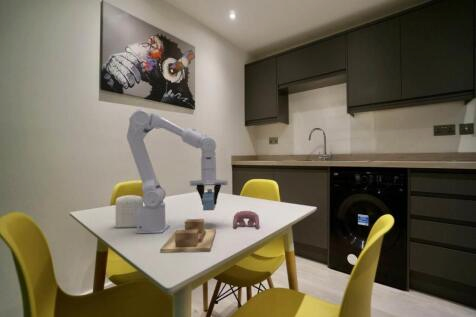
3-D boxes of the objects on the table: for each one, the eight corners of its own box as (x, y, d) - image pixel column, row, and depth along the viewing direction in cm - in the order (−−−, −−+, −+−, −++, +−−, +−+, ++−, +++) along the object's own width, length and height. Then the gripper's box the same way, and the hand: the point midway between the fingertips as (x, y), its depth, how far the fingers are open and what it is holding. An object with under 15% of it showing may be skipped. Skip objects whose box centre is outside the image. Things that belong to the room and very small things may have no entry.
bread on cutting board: (160, 252, 61) (159, 234, 61) (176, 232, 77) (176, 218, 77) (210, 251, 61) (209, 233, 61) (215, 232, 77) (215, 217, 77)
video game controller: (259, 230, 82) (258, 211, 85) (259, 228, 78) (258, 209, 81) (233, 230, 83) (234, 211, 86) (232, 228, 79) (232, 209, 82)
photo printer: (145, 224, 88) (144, 193, 88) (141, 227, 84) (140, 195, 84) (119, 225, 87) (118, 194, 87) (113, 228, 83) (113, 196, 83)
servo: (202, 211, 79) (201, 192, 79) (206, 205, 89) (205, 188, 89) (213, 211, 79) (212, 191, 79) (215, 205, 89) (215, 188, 89)
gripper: (187, 170, 79) (188, 206, 80) (226, 169, 80) (227, 206, 80) (191, 169, 87) (192, 202, 87) (227, 168, 87) (228, 202, 87)
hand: (209, 204), depth 84 cm, fingers closed on servo, 4 cm apart
